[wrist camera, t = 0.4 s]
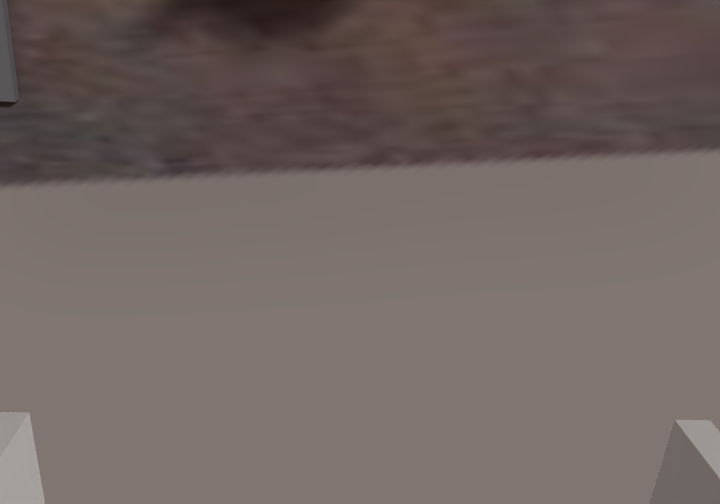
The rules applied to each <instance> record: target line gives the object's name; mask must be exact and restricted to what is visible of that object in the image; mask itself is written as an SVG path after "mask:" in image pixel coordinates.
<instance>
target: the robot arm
mask: <svg viewBox="0 0 720 504" xmlns="http://www.w3.org/2000/svg"><path fill="white" fill-rule="evenodd" d="M0 504H45V502H44V496H43V489H42V484H41V478H40V472H39V466H38V461H37V455H36V449H35V444H34V438H33V432H32V426H31V421H30V415H29V413H25V412H0ZM650 504H720V432H719V431H718V430H717V428H716V427H715V426H714V425H713V424H712V422H711V421H709V420H675V421H674V424H673V428H672V431H671V435H670V438H669V441H668V444H667V448H666V451H665V454H664V458H663V461H662V465H661V468H660V471H659V474H658V478H657V481H656V485H655V488H654V491H653V494H652V498H651V501H650Z"/></svg>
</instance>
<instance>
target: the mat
mask: <svg viewBox="0 0 720 504" xmlns="http://www.w3.org/2000/svg"><path fill="white" fill-rule="evenodd" d="M0 101H6V102H16V101H19V92H18V84H17V76H16V68H15V61H14V53H13V45H12V37H11V29H10V21H9V13H8V5H7V0H0Z"/></svg>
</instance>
